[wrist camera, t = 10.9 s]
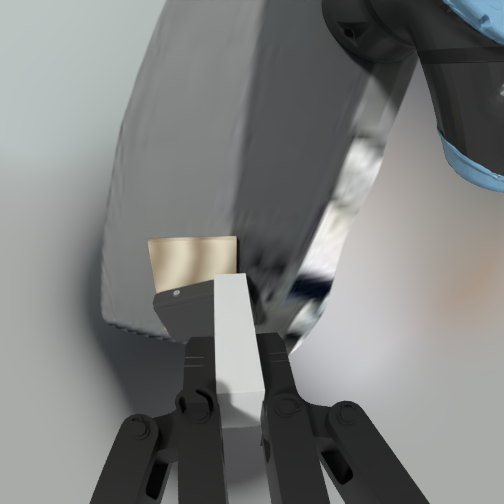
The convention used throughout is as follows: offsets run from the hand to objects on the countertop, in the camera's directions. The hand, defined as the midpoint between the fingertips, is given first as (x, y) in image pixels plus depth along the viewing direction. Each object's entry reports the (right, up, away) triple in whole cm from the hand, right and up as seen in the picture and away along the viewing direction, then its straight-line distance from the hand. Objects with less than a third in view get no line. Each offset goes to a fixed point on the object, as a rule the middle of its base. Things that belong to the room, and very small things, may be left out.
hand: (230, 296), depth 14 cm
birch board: (-8, -3, +32) cm, 33 cm away
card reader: (+1, -5, +30) cm, 30 cm away
